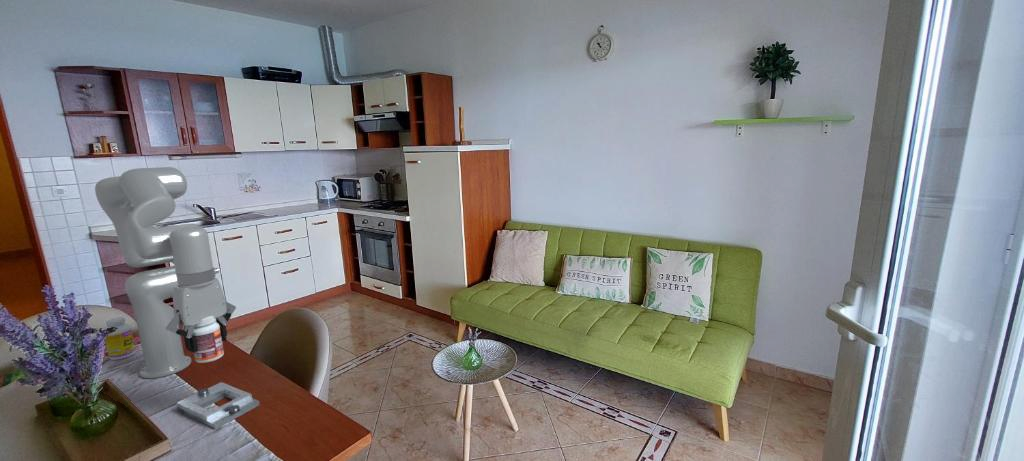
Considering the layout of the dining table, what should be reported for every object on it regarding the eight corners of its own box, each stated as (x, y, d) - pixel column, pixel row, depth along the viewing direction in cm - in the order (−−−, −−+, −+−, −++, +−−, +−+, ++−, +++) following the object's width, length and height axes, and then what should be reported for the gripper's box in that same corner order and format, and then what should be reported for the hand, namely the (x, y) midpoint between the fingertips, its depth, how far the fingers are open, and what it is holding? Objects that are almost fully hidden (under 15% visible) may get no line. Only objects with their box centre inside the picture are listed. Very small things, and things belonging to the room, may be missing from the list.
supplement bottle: (128, 359, 141) (120, 322, 138) (104, 362, 139) (96, 325, 137) (140, 350, 147) (133, 315, 145) (117, 352, 146) (110, 317, 143)
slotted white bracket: (178, 411, 111) (176, 399, 111) (222, 389, 121) (220, 379, 120) (215, 429, 104) (213, 417, 103) (259, 405, 113) (257, 394, 113)
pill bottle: (224, 359, 109) (217, 317, 107) (194, 366, 105) (186, 323, 103) (224, 350, 114) (217, 309, 112) (195, 356, 111) (188, 315, 108)
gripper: (224, 267, 115) (234, 330, 118) (146, 285, 100) (160, 357, 103) (240, 270, 111) (250, 334, 115) (162, 289, 96) (176, 363, 100)
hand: (207, 344), depth 109 cm, fingers closed on pill bottle, 6 cm apart
